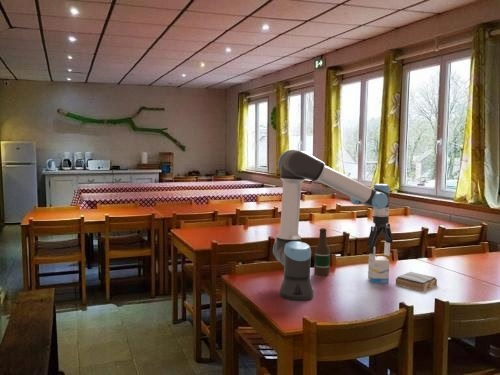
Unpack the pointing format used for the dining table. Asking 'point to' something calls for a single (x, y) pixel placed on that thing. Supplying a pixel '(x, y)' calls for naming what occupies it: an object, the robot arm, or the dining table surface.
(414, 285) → the plinth
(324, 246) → the beer bottle
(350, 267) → the dining table surface
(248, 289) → the dining table surface
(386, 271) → the ink box
